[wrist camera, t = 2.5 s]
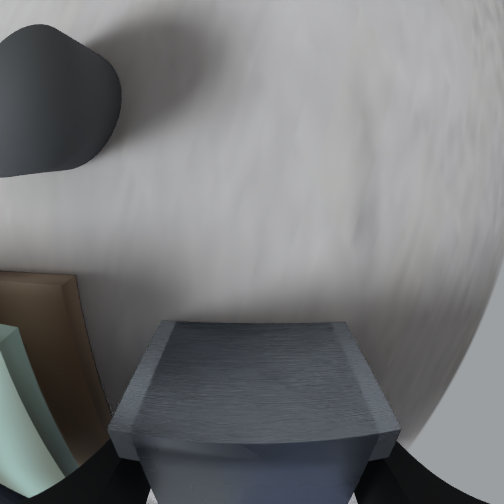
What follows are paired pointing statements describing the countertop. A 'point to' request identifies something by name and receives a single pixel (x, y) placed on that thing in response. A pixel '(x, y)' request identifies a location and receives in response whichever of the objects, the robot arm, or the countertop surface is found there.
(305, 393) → the housing
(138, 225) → the countertop surface
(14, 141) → the knob
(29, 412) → the stand
